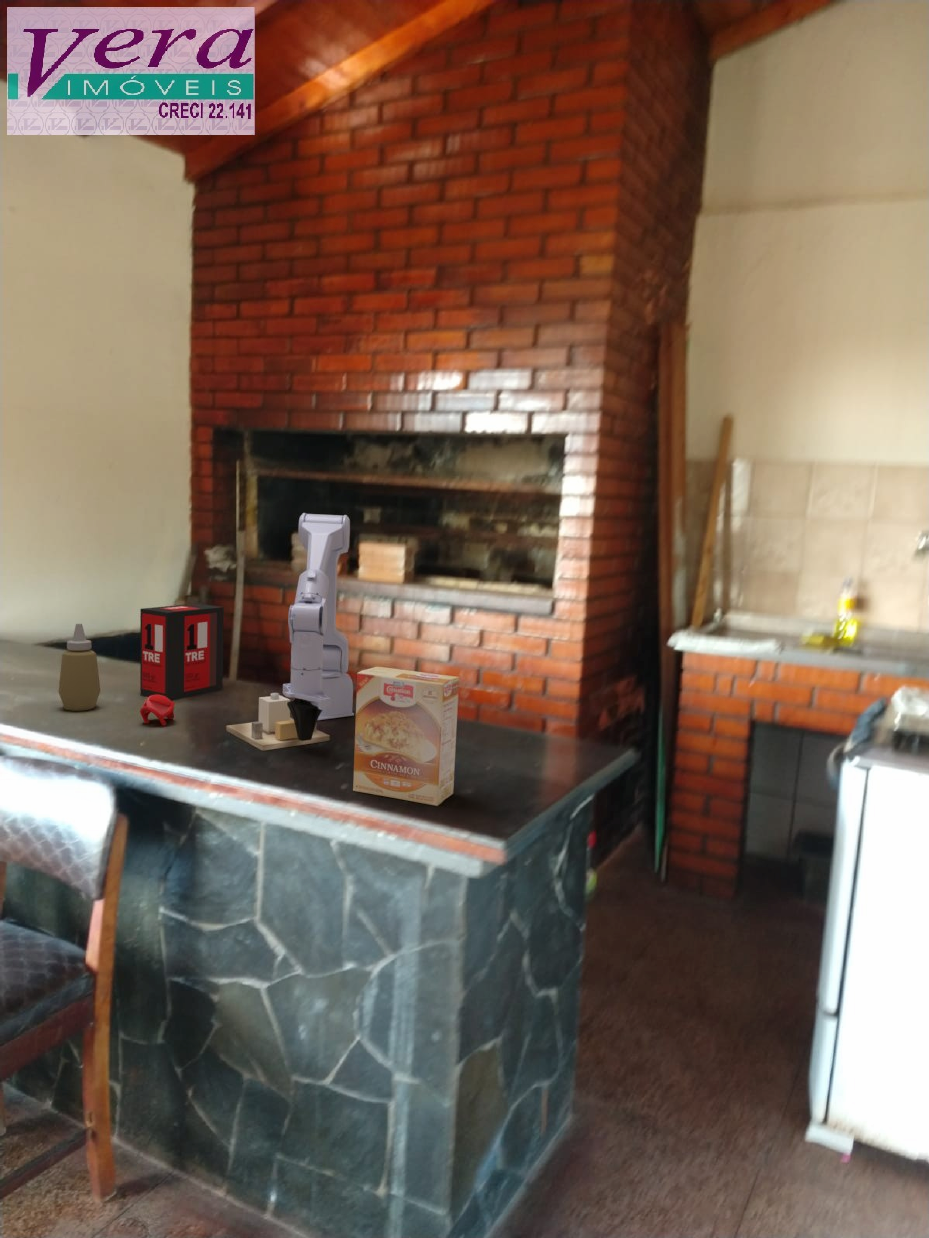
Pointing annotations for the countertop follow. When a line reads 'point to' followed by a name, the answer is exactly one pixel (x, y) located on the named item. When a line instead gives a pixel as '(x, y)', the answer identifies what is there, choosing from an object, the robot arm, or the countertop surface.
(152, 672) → the cleaning product box
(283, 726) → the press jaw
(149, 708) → the red toy chair
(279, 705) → the block
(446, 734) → the coffeecake box
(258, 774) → the countertop surface
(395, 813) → the countertop surface
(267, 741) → the press bed
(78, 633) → the squeeze bottle
